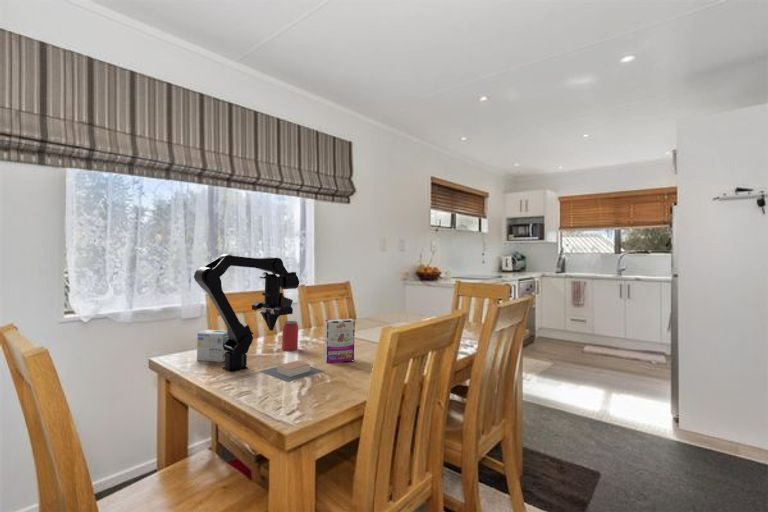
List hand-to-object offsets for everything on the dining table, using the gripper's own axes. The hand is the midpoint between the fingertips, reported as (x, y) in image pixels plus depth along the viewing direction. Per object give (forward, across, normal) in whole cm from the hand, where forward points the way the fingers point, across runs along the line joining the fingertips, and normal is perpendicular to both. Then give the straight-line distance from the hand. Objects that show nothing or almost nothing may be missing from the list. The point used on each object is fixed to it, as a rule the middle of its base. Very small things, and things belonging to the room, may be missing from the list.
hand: (271, 330), depth 146 cm
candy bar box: (+12, -18, -19) cm, 29 cm away
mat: (+12, -16, +2) cm, 20 cm away
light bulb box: (+12, +18, +13) cm, 25 cm away
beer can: (+12, +9, -16) cm, 22 cm away
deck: (+10, -13, +2) cm, 17 cm away
